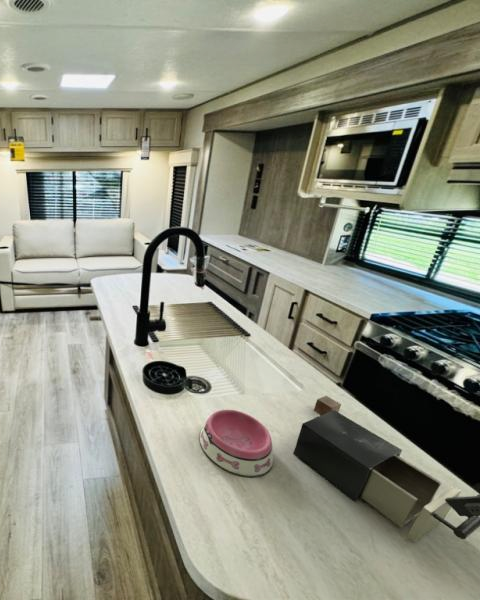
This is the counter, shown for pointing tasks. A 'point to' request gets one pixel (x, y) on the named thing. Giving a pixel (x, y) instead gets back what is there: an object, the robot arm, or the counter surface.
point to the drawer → (412, 498)
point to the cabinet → (342, 451)
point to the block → (326, 405)
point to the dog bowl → (237, 443)
